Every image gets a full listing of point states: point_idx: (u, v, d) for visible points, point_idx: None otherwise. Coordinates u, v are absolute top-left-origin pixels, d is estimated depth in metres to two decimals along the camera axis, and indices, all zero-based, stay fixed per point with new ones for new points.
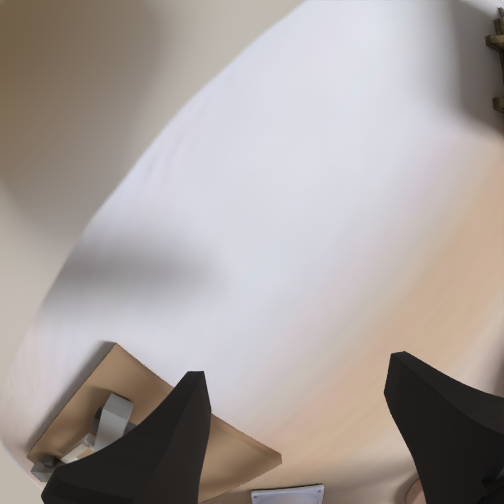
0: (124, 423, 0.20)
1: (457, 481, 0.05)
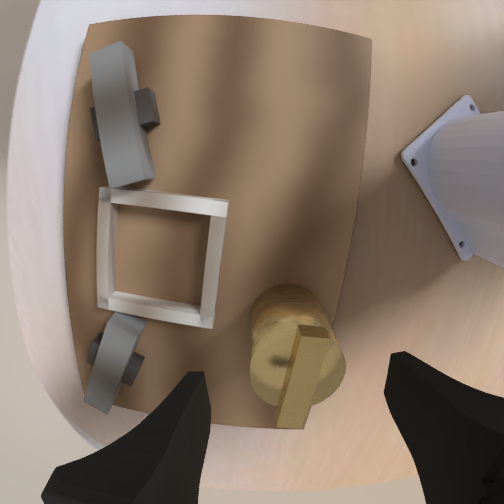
0: (120, 49, 0.13)
1: (457, 481, 0.05)
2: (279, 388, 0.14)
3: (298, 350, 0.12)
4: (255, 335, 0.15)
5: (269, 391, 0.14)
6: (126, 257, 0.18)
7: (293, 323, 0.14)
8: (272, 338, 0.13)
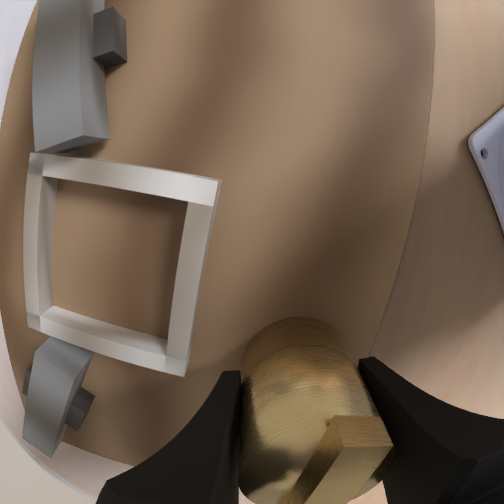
0: None
1: (415, 497, 0.05)
2: (285, 493, 0.07)
3: (332, 465, 0.05)
4: (250, 409, 0.08)
5: (268, 496, 0.07)
6: (66, 259, 0.11)
7: (319, 403, 0.07)
8: (283, 432, 0.07)
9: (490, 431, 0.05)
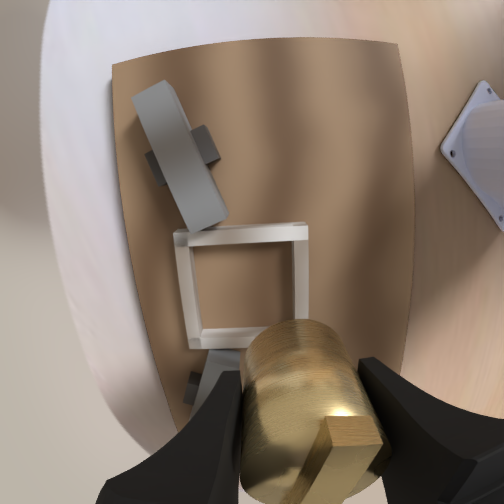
0: (166, 88, 0.14)
1: (416, 497, 0.05)
2: (286, 491, 0.07)
3: (325, 463, 0.06)
4: (249, 411, 0.09)
5: (270, 494, 0.07)
6: (210, 295, 0.19)
7: (313, 404, 0.07)
8: (279, 433, 0.07)
9: (490, 430, 0.05)
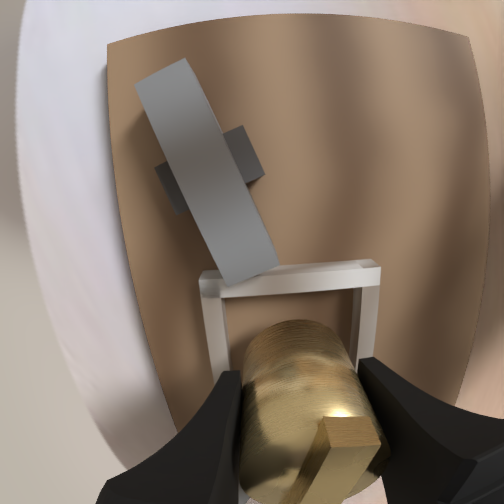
0: (188, 71, 0.09)
1: (415, 497, 0.05)
2: (285, 491, 0.07)
3: (323, 464, 0.06)
4: (248, 412, 0.09)
5: (269, 494, 0.07)
6: (245, 352, 0.15)
7: (312, 405, 0.07)
8: (277, 434, 0.07)
9: (489, 430, 0.05)
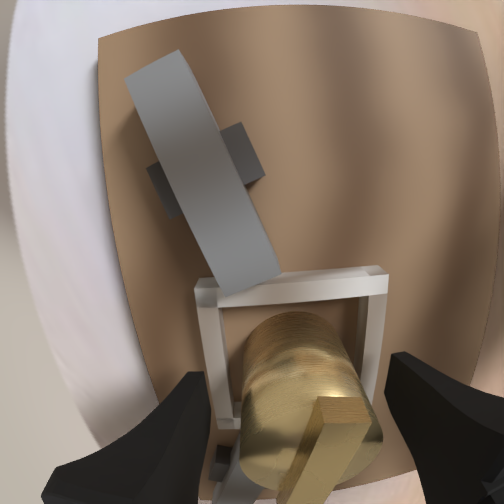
0: (182, 63, 0.08)
1: (457, 481, 0.05)
2: (283, 473, 0.08)
3: (318, 441, 0.06)
4: (248, 396, 0.09)
5: (268, 476, 0.08)
6: None
7: (307, 387, 0.08)
8: (275, 414, 0.08)
9: None
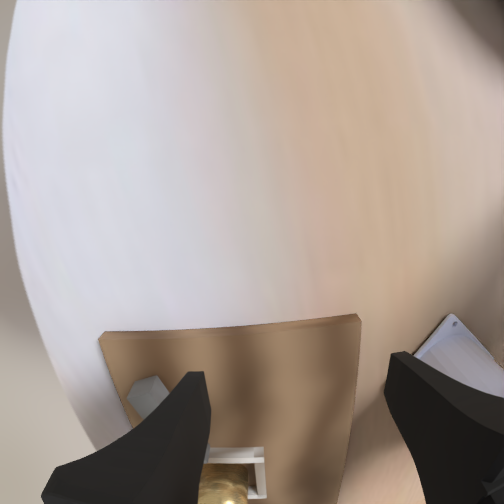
0: (153, 398, 0.18)
1: (457, 481, 0.05)
2: None
3: None
4: None
5: None
6: None
7: None
8: None
9: None
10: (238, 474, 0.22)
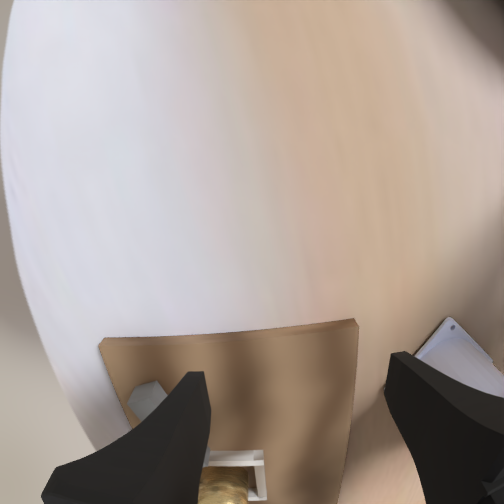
0: (153, 404, 0.18)
1: (457, 481, 0.05)
2: None
3: None
4: None
5: None
6: None
7: None
8: None
9: None
10: (238, 477, 0.22)
